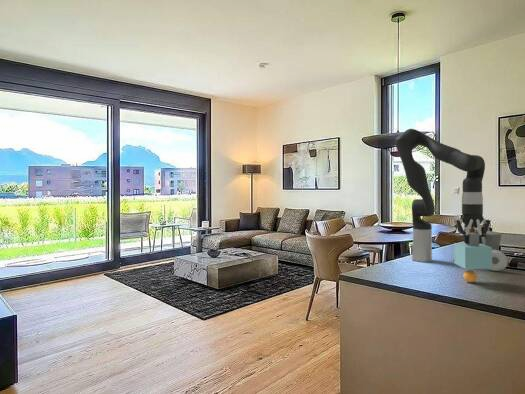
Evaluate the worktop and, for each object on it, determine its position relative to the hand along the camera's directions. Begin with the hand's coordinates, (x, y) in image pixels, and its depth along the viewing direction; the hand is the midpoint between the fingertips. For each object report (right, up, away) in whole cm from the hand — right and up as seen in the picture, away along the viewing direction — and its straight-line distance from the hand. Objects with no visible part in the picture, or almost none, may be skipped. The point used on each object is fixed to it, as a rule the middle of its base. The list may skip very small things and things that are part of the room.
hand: (472, 243), depth 146 cm
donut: (+21, -15, +18) cm, 32 cm away
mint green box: (0, -9, 0) cm, 9 cm away
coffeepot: (+30, -15, +36) cm, 49 cm away
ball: (-1, -14, 0) cm, 14 cm away
